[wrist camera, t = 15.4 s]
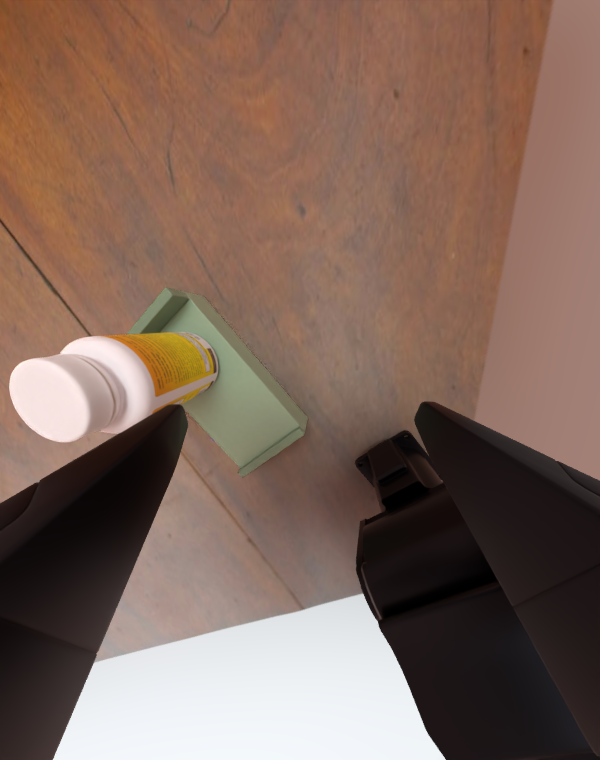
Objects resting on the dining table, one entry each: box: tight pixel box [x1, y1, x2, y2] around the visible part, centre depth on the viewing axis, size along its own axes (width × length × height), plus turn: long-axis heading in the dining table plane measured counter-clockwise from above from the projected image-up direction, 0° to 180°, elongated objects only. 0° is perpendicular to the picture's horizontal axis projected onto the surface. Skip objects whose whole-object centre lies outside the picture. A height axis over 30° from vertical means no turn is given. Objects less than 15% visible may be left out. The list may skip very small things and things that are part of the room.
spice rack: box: [126, 287, 308, 477], centre depth 20 cm, size 16×8×5 cm, turn 40°
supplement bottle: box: [9, 332, 218, 442], centre depth 14 cm, size 6×6×10 cm
